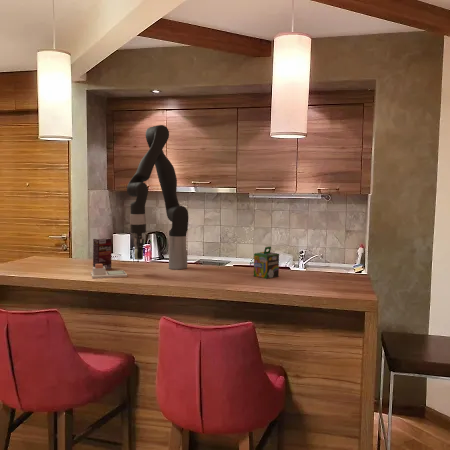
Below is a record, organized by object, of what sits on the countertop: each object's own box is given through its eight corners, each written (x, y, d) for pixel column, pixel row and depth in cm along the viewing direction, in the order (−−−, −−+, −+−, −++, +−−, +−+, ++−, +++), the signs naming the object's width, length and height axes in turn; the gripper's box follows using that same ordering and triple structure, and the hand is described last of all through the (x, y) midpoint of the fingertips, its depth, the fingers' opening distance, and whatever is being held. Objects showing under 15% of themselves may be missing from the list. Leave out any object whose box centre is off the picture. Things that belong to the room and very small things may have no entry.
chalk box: (265, 274, 244) (265, 244, 242) (279, 276, 237) (280, 246, 236) (252, 276, 237) (253, 246, 236) (267, 279, 231) (267, 248, 229)
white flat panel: (123, 272, 242) (123, 270, 242) (127, 276, 231) (127, 274, 231) (90, 273, 237) (90, 271, 237) (92, 278, 226) (92, 276, 226)
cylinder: (142, 258, 241) (141, 246, 240) (143, 259, 237) (143, 247, 236) (134, 258, 239) (133, 246, 239) (135, 259, 235) (135, 247, 235)
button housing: (104, 272, 236) (104, 266, 236) (105, 274, 231) (105, 268, 230) (92, 273, 234) (92, 266, 234) (93, 275, 229) (93, 268, 228)
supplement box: (98, 270, 247) (98, 239, 245) (92, 269, 249) (92, 238, 248) (112, 268, 253) (112, 238, 252) (106, 267, 256) (106, 237, 255)
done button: (102, 268, 234) (102, 263, 234) (102, 269, 231) (102, 264, 231) (95, 268, 233) (95, 263, 233) (95, 269, 230) (95, 265, 230)
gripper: (148, 224, 231) (149, 259, 233) (142, 221, 244) (143, 255, 246) (133, 224, 228) (133, 260, 230) (127, 222, 242) (128, 256, 243)
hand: (138, 257), depth 238 cm, fingers closed on cylinder, 4 cm apart
